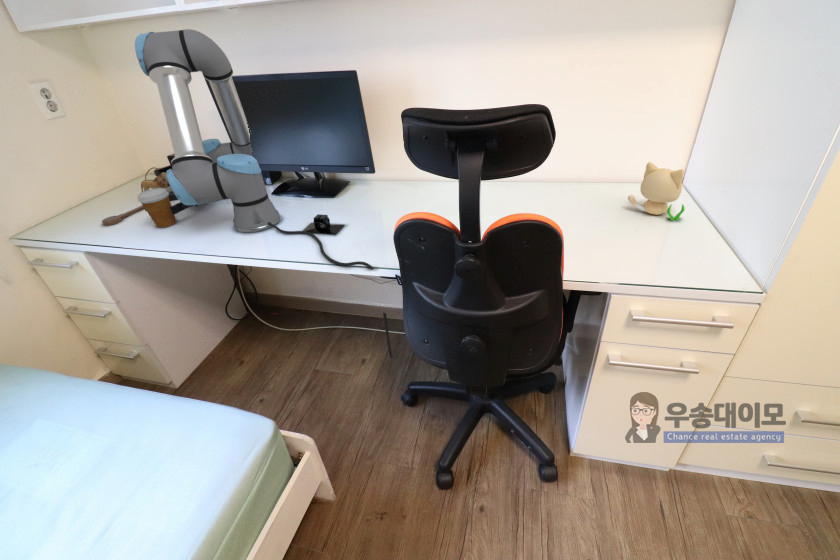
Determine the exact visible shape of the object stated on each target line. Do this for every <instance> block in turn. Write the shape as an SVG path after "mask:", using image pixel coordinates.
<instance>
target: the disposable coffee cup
mask: <svg viewBox="0 0 840 560" xmlns="http://www.w3.org/2000/svg"><path fill="white" fill-rule="evenodd" d="M169 192H170V191H167V189H166V188H165V189H164V188H155V189H152V188H149V190H147V191H144V190H143V192H142V191H141V192H140V193H138V194H137V201H138V202H139V203H141V206H142V205H143V206H144V208H145V209H146V211H145V212H147V214H148V215H149V217H150V218H151V220H152V221H153V223H154V224H155V226H156V227H157V228H159V229H161V228H168V227H171V226H174V224H176V223H177V220H176V216H175V215H173V214H172V212H171V210H170V207H171V206H172V203H171V201H170V199H169ZM145 209H144V210H145Z"/></svg>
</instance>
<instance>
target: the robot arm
mask: <svg viewBox="0 0 840 560" xmlns="http://www.w3.org/2000/svg"><path fill="white" fill-rule="evenodd" d="M134 50H135V55H136V59H137V61H138V64H139V67H140V69H141V71H142V72H143V74H144V75H146V76H147V77H149V79H150V80H151V82H153V83H154V84H156V85H157V90H158V94H159V98H160V102H161V105H162V106H161V107H162V111H163V115H164V118H165V122H166V127H167V129H168V133H169V138H170V142H171V145H172V150H173V153H174V154H173V155H174V157H173V158H172V160H171V161H170V164H171V168H169V169H167V170H166V172H165V173H167V179H168V182H169V184H168V185H169V186H170V189H171V191H168V192H169V199H170V202H174V201H179V202H178V203H175V204H173V205H171V207H170V210H171V212H172V214H173V215H174V216H175V215H176V214H179V213H181V212H183V211H184V210H187V209H188V208H192V207H196V208H198V207H199V206H200V205H202V204H208V203H214V202H219V201H225V200H230V201H231V203H232V207H233V219H232V222H233V226H234V228H235V231H237V232H240V233H243V234H250V233H258V232H262V231H266V230H268V229H271V228H273V229H275V230H276V231H278V232H279V233H281V234H286V235H298V234H300V235H301V234H304V235H307V236H311V237H312V238H313V239H314V240H315V241H316V242H317V244H318V246H319V250H320V253H321V254H322V255H323V256H324V258H325V259H327V260H328V261H329V262H331V263H332V264H334V265H337V266H339V267H340V266H342V267H351V266H356V265H357V266H358V265H360V266H365V267H367V268H368V269H369V270H375V268H374V267H373V266H372V265H371V264H369V263H368V262H365V261H359V260H357V261H349V262H342V261H341V262H340V261H338V260H335V259H333V258H332V257H330V256H329V255H328V254H327V253H326V252H325V250H324V246H323V243H322V241H321V240H320V239H319V237H318V236H317V235H316V234H312V233H310V232H307V231H303V230H284V229H281V228H279V227H278V226H277V225H278V224H279V223H280V222H281V215H280V212H279V210H277V208H276V206H275V205H274V203H273V202H272V201H271V199H270V197H269V194H268V191H267V188H266V184H265V181H264V178H263V173H262V169H261V168H260V164H259V161H258V160H257V158H256V159H255V158H254V157H253V156H252V152H253V151H252V148H251V141H250V133H249V129H250V127H249V128H248V126H249V123H248V121H247V117H246V114H245V111H244V109H243V106H242V102H241V100H240V97H239V94H238V91H237V88H236V85H235V83H234V80H233V75H234V70H233V66H232V64H231V62H230V60H229V58H228V57H227V55H226V53H225V52H224V51H223V49H222V48H221V47H220V46H219V45H218V44H217V43H216V42H215V41H214V40H213V39H212V38H210V37H209V36H207V35H206V34H204V33H203V32H201V31H198V30H195V29H189V28H187V29H180V30H179V29H178V30H168V31H158V32H157V31H156V32H155V31H147V32H144V33H139V34H138V35H136V37H135V40H134ZM199 72H201V74H202V76H203V78H204V79H205V80H207V81H208V83H209V86H210V88H211V90H212V93H213V95H214V98H215V100H216V103H217V106H218V107H219V110H220V113H221V115H222V118H223V120H224V122H225V125H226V127H227V130H228V133H229V136H230V138H231V140H232V141H230V142H221V141H220V139H218V138H208V139H204V140H203V139H202V135H201V130H200V126H199V123H198V119H197V114H196V111H195V105H194V103H193V99H192V95H191V90H190V87H189V84H190V83H191V82H192V80H193V78H192V73H199ZM247 123H248V124H247ZM232 142H234V143H232ZM143 207H144V206H143ZM143 210H144V211H145V212H147V211H146V209H145V208H144V209H143ZM382 316H383V323H384V329H385V337H386V343H387V350H388V355H389V358H390V359H392V358H393V353H392V346H391V340H390V331H389V324H388V318H387V313H386V312H382Z"/></svg>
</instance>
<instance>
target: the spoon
mask: <svg viewBox="0 0 840 560" xmlns="http://www.w3.org/2000/svg"><path fill="white" fill-rule="evenodd" d="M143 210H145V209H144V207H143V205H142V204H141V205H140V206H138V207H135V208H134V209H131V210H128V211H126V212H123V213H120V214H118V215H111V216H107V217H105V218H103V219H102V220H101V223H102V225H103V226H105V227H108V226H113V225H116V224H119V223H121V222H122V221H123V219H126V218H128V217H130V216H132V215H134V214H136V213H139V212H141V211H143Z"/></svg>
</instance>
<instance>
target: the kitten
mask: <svg viewBox="0 0 840 560" xmlns="http://www.w3.org/2000/svg"><path fill="white" fill-rule="evenodd" d="M684 172H685V171H684V169H683V168H680V169H677V170H673V169H670V168H659V167H658V166H657V165H655V164H654V163H653V162H652V161H648V162H647V163H646V165H645V171H644V173H643V179H642V181H641V183H640V186H639V187H640V194H641V195H642V197H644V198H645V199H646V200H645V202H643V204H640V203H638V202H637V200H636V198H635V196H634V195H633V194H630V195H629V194H628V196H627V201H628V202H629V203H630V204H631V205H632V206H633V207H635V208H636V209H637V210H639V211H642V212H645V213H647V214H650V215H663V214H665V213H666V214H667V215H668V219H669V221H676V222H678V220H679V219H680V217H681V215H682V214H683V213H684V212H685V210H686V208H685V206H684V204H683V203H682V204H681V210H680V211H679V212H678V213H676V215H675V216H673V215H672V213H671V208H672V205H673V204H672V203H673V202H675V201H677V200H678V199H680V197H681V194H682V190H683V184H682V183H683V178H684ZM669 203H671V204H670V205H669Z"/></svg>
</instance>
